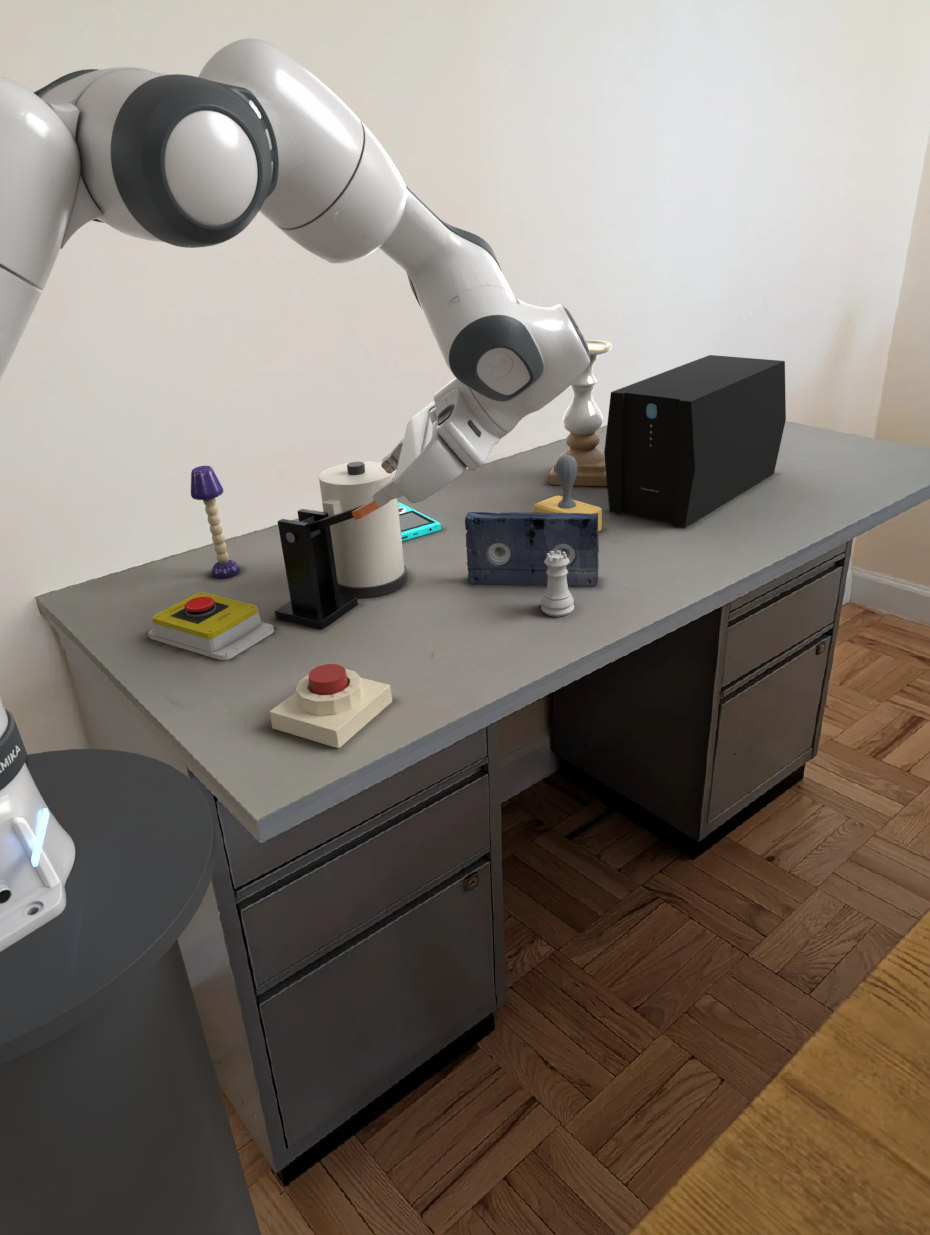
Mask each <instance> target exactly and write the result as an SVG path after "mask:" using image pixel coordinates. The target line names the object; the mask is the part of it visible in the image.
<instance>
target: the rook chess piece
mask: <svg viewBox="0 0 930 1235" xmlns="http://www.w3.org/2000/svg"><path fill="white" fill-rule="evenodd" d="M569 562H570V561H569V559H568V558H567V554H566V553H565V552H562V554H561V551H557V554H554V551H551V552H550V553H547V558H546V559H545V561H544V563H545V564H546V565H547V567H548V570H547V571H546V573H547V575H548V582H547V585H546V590H545V591H544V593H543V596H542V598H541V601H540V602H541V606H540V609H541V611H542V612H543V613H544V614H545V615H547V616H549V617H556V618H558V617H559V618H560V617H565V616H568V615H570V614H571V613H572V612H573V611H574V610H575V604H574V602H575V598H574V596H573V595H572V593H571V590H569V586H568V585H567V573H568V571H567V569H566V566H567V565H568V563H569Z"/></svg>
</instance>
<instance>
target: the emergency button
mask: <svg viewBox="0 0 930 1235" xmlns="http://www.w3.org/2000/svg"><path fill="white" fill-rule="evenodd" d="M152 624H153V628H151V629H150V630H148V633H147V634H148V638H149V639H150V640H154V641H157V642H160V643H163V644H167V645H170V646H174V647H177V648H179V649H183V650H186V651H190V652H191V653H192V652H193V653H196V654H198V655H202V656H205V657H209V658H213V659H216V660H218V661H228V660H231V659H232V658H234V657H236V656H238V655H239V654H241V653H242V652H244V651H246V650H248V649H249V648H251V647H253V646H254V645H256V644H258V643H259V642H260V641H262V640H264V639H266V638H267V637H269V636H271V635H272V634H273V633H274V632H275V630H274V626H273V625H272V624H271V623H268V622H264V621H262V619H261V616H260V613H259V609H258V606H257V605H256V604H253V603H248V602H245V601H241V600H238V599H233V598H230V597H225V596H221V595H217V594H214V593H209V592H206V591H199V592H197V593H194V594H191V595H190V596H189V597H186V598H185V599H183V600H181V601H179V602H177V603H175V604H173V605H171V606H169V607H167V608H165V609H163V610H161V611H159V612H157V613H156V614H154V615H152Z"/></svg>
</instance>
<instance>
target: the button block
mask: <svg viewBox="0 0 930 1235" xmlns="http://www.w3.org/2000/svg"><path fill="white" fill-rule="evenodd" d="M345 670H346V676H347V683H348V686H347V688H346V689H344V690H343V691H341V692H338V693H335V694H332V695H317V694H313V693H312V692H311V688H310V682H309V673H308V674H306V675H305V676H304V677H302V678H301V679H300V680H299V681H298V682H297V685H296V689H295V692H293V693H292V694H291V695H290V696H288V697H287V698H286V699H284V700H283V701H282V702H280V703H278V705H276V706H275V707H273V708H272V709H271V710H269V718H270V722H271V729H273V730H277V731H280V732H283V733H286V734H290V735H293V736H296V737H300V738H302V739H306V740H309V741H312V742H316V743H319V744H323V745H325V746H329V747H332V748H336V749H340V748H341V747H343V745H345V744H346V743H347V742H349V740H351V739H352V738H353V737H354V736H355V735H356V734H357V733H359V731H361V730H362V729H363V728H364V727H365V726H367V724H369V723H370V722H371V721H372V720H373V719H375V718H376V717H377V716H378V715H379V714H380V713H381V712H382V711H384V710H385V709H386V708H387V707H388V706H389V705H390V704H392V703H393V695H392V688H391V687H392V686H391V684H389V683H385V682H379V681H376V680H372V679H369V678H364V677H361V676H360V675H359V674H358V673H357V672H356V671H355V670H351V669H348V668H345Z"/></svg>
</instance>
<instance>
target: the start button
mask: <svg viewBox="0 0 930 1235" xmlns="http://www.w3.org/2000/svg"><path fill="white" fill-rule="evenodd" d="M345 669H346V668H345V667H344V666H343V665H340V664H337V663H326V664H321V665H318V666H316V667H314V668H313V669H311V670H310V671H309V673H308V674H309V682H310V688H311V692H312V693H313V694H317V695H332V694H335V693H338V692H341V691H343V690H344V689H346V688H347V686H348V683H347V676H346V670H345Z"/></svg>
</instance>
